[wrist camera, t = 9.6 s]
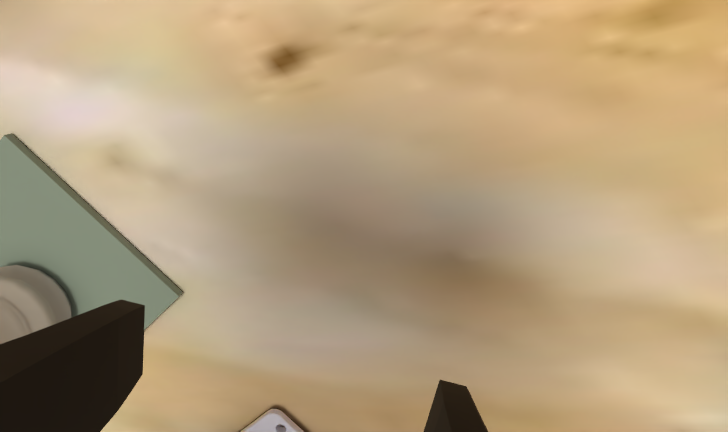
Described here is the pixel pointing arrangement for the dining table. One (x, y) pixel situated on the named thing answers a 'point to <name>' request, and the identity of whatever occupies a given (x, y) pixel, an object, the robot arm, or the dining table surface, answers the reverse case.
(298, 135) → the dining table surface
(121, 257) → the rubber mat
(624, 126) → the dining table surface
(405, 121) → the dining table surface
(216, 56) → the dining table surface
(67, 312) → the rook chess piece
